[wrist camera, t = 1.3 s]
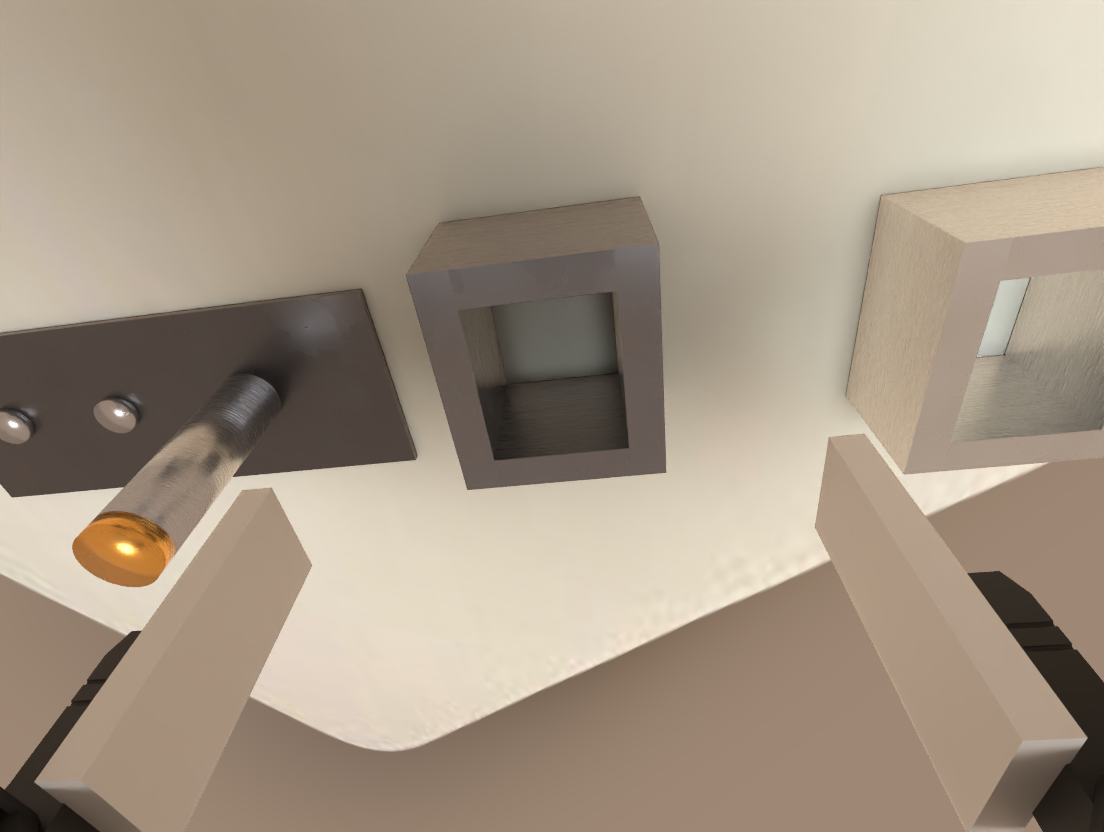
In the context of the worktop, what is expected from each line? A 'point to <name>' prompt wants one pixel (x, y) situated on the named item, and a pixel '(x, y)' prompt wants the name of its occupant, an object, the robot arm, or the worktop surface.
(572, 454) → the grey hollow block
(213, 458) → the keeper
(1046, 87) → the worktop surface
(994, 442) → the link
